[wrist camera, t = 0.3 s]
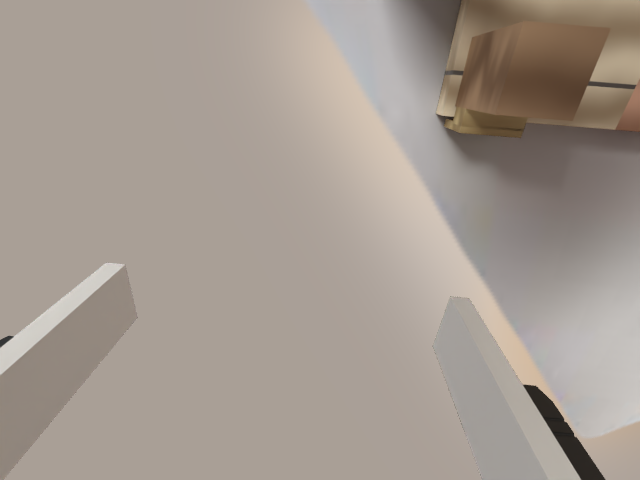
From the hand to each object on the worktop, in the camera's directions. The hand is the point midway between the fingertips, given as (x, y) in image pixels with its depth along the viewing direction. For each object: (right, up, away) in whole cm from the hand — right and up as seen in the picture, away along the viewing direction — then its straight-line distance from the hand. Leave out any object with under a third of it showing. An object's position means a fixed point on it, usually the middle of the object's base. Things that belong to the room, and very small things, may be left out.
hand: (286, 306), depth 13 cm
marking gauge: (+18, +19, +20) cm, 33 cm away
